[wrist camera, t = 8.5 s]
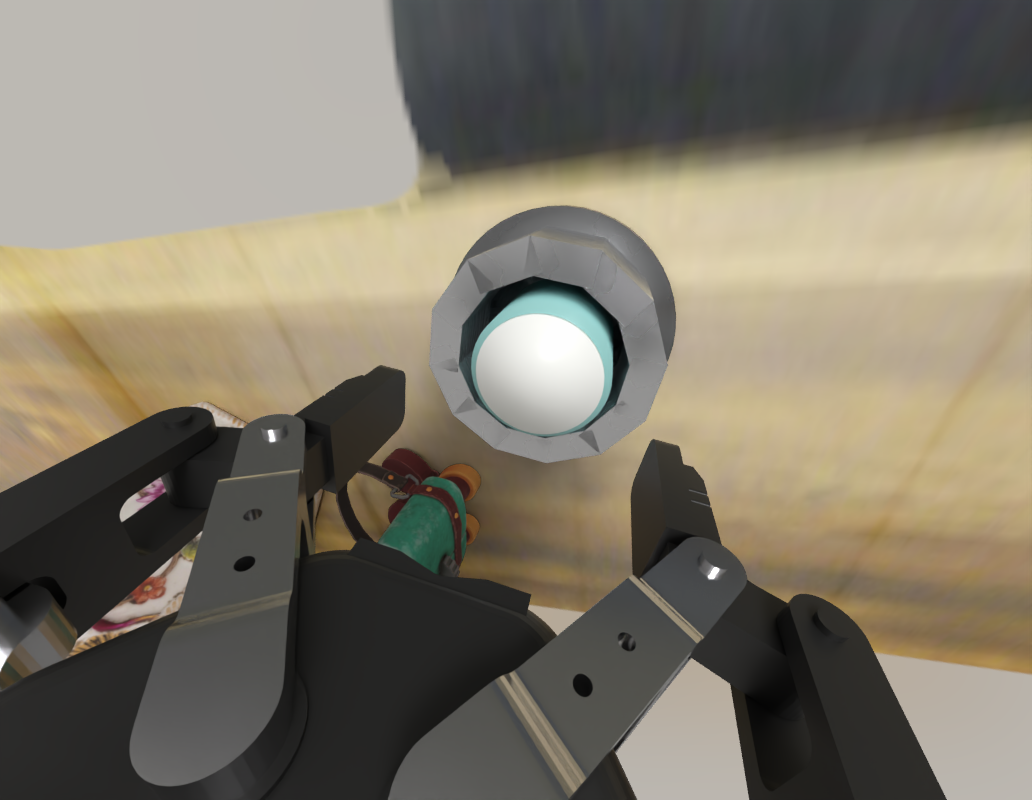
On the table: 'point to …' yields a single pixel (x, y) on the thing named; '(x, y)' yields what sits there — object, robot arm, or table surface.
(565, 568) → the table surface
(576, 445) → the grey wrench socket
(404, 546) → the binoculars
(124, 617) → the decorative jar
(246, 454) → the robot arm
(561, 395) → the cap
